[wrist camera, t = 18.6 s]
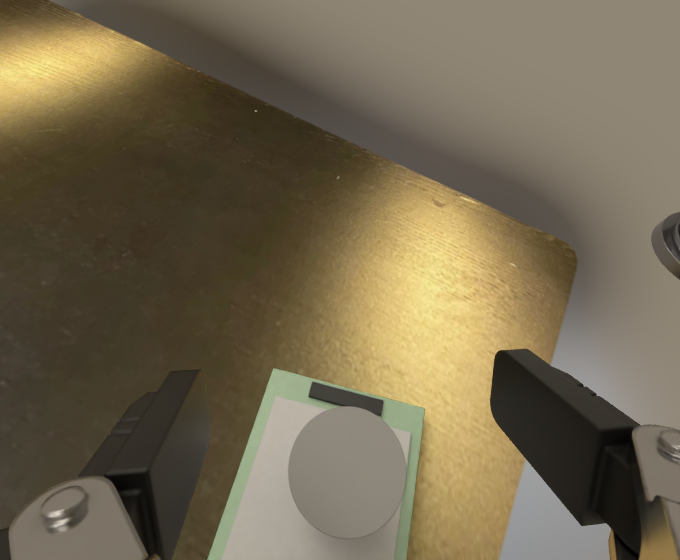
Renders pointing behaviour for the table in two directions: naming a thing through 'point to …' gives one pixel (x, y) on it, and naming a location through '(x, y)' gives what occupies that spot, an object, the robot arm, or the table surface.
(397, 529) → the scale
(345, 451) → the container
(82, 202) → the table surface
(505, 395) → the robot arm
